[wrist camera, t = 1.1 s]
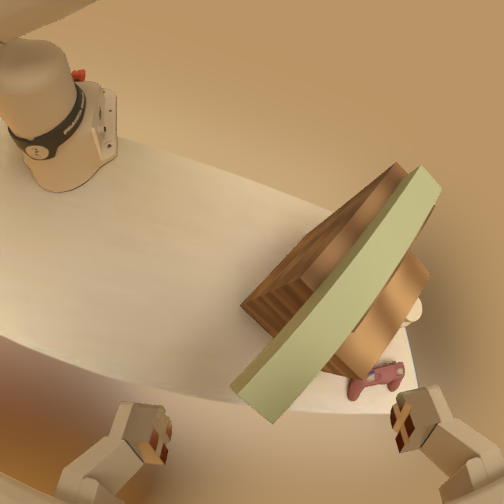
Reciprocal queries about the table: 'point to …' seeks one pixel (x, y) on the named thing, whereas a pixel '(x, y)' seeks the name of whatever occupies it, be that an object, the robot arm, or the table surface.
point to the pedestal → (320, 266)
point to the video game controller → (378, 379)
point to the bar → (337, 301)
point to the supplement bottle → (413, 314)
